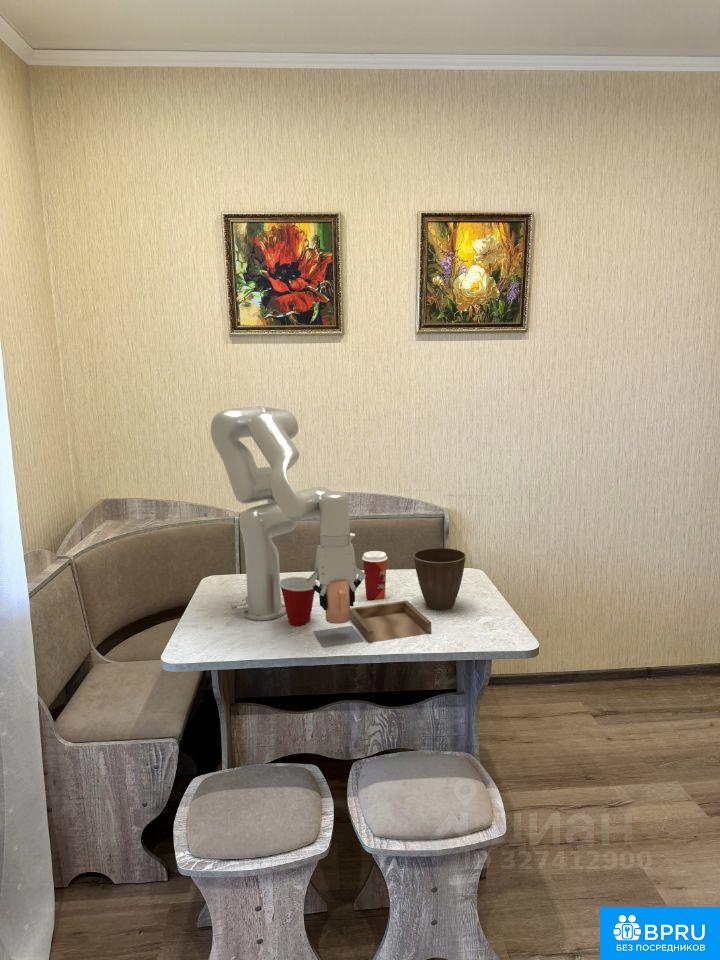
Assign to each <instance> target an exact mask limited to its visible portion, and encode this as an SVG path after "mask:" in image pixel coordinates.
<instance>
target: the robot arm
mask: <svg viewBox="0 0 720 960" xmlns="http://www.w3.org/2000/svg"><path fill="white" fill-rule="evenodd" d="M298 432H299V422H298V419H297V418H296V416H295V415H294V414H293V413H292V412H290V410H289V411H288V410H286V409H282V408H274V407H269V406H260V405H259V406H247V407H245V406H244V407H234V408H228V409H224V410H221V411H219V412H217V413H216V414H215V415H214V416H213V418H212V420H211V423H210V437H211V440H212V442H213V443H212V444H213V445H214V447H215V450H216V452H217V453H218V455H219V457H220V459H221V460H222V462H223V465H224V469H225V471H226V474H227V476H228V480H229V483H230V485H231V488H232V491H233V494H234V496H235V498H236V500H237V501H238V502H239V503H241V504H245V505H246V504H254V503H255V504H256V503H259V502H263V501H266V502H267V503H265V504H261V505H256V506H252V507H251V508H250V507H249V508H248V509H246V510H245V511H243V513H242V514H241V516H240V517H239V528H240V529H239V530H240V533H241V536H242V540H243V546H244V556H245V557H244V559H245V572H246V573H245V574H246V575H245V576H246V593H247V596H244V598H245V599H242V600H241V601H232V602H231V610H235V609H236V611H242V615H243V616H244V617H245V618H247V619H249V620H253V621H269V620H274V619H278V618H280V617H282V616H284V615H285V614H287V613H286V608H285V603H282V597H281V596H282V592H281V587H280V585H279V581H280V580H281V575H280V556H279V551H278V547H277V546H276V544H275V543H274V541H273V538H274V537H277V536H280V535H284V534H287V533H290V532H292V531H293V530H294V529H296V527H297V525H298V522H301V521H305V520H309V519H312V518H317V517H319V537H320V539H319V540H320V544H317V548H316V556H315V570H314V572H313V573H312V574H311V575H310V576H309V577H308V578H309V579H308V580H307V581H306V582H307V584H308V585H309V586H311V587H312V588H313V589H314V590H315V593H317V594H318V595H319V596H318V597H319V606H320V607H321V608H322V609H323V610H324V611H325V610H327V596H326V595H325V592H326V589H327V585H329V582H336V581H343V580H348V582H349V592H350V608H354V606H355V605H354V603H355V602H356V591H357V589H358V588H359V586H361V584H362V582H363V581H365V577H366V574H365V573H364V571H362V570H361V569H360V568H358V567H357V561H356V556H355V550H354V545H353V543H352V542H351V541H352V540H353V539H354V540H355V539H356V535H355V533H351V532H350V505H349V503H350V502H349V495H348V494H347V493H346V492H343V491H338V490H334V491H333V490H331V489H329V488H327V487H323V486H318V487H313V488H307V489H302V490H297V491H296V490H295V488H294V487H293V485H292V484H291V483H290V480H289V478H288V474H287V473H288V471H289V470H290V469H291V468H292V467H293V466H294V465H295V464H296V463H297V462H298V460H299V458H300V451H299V450H298V448H297V447H296V445H295V444H294V442H293V441H292V439H294V438H295V437H296V436H297V435H298ZM242 438H252V439H253V441H254V442H255V444H256V446H257V447H258V449H259V450H260V452H261V453H262V455H263V457H264V458H265V460H266V461H267V463H268V464H269V466H264V467H258V466H257V464H256V461H255V458H254V455H253V454H252V451H251V450H250V449H249V448H248V447H247V445H245V444H244V443H243V442H242V441H240V439H242ZM357 575H358V576H357ZM314 581H317V582H318V583H319V584H318V586H317V585H316V584H315V583H314Z"/></svg>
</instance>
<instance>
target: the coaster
mask: <svg viewBox="0 0 720 960" xmlns="http://www.w3.org/2000/svg"><path fill="white" fill-rule="evenodd" d="M312 633H313V634H314V636H315V638H316V640H317V641H318V643H319V644H320V646H321V648H323V649H325V648H331V647H337V646H344V645H351V644H356V643H357V644H358V643H363V642H365V641H364V639H363V638H362V637H361V634H359V633H358V632H357V629H355V628H354V626H352V625H347V626H341V627H340V626H339V627H333V628H327V629H319V630H313V631H312Z"/></svg>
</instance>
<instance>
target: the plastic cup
mask: <svg viewBox="0 0 720 960" xmlns="http://www.w3.org/2000/svg"><path fill="white" fill-rule="evenodd" d="M309 578H310V577H306V576H290V577H285V578H282V579H280V581H279V585H280V591H281V596H282V598H283V602H284V603H283V604H284V605H285V608H286V613H285V614H286V617H287V621H288V623H289V625H290V626H292V627H304V626H307V624H308V623H309V622H310V621H311V615H312V612H313V611H312V610H313V604H314V598H315V597H314V596H315V593H316V591H315V590H314V589H313V588H312V587H311V586H309V585H308V584H307V582H306V581H307V580H308V579H309ZM314 583H315V584H316V585H317V586H319V581H318V580H315V581H314Z"/></svg>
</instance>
